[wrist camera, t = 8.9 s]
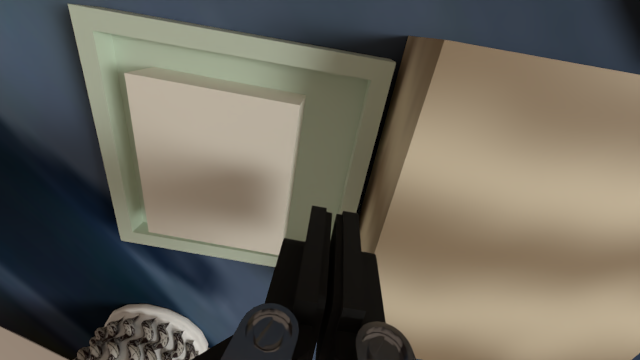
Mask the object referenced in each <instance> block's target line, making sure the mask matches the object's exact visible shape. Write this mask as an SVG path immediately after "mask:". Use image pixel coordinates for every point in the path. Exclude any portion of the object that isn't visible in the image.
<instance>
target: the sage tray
mask: <svg viewBox="0 0 640 360" xmlns="http://www.w3.org/2000/svg"><path fill="white" fill-rule="evenodd" d="M68 7H69V12H70V16H71V21H72V25H73V29H74V34H75V38H76V43H77V47H78V52H79V56H80V61H81V65H82V69H83V74H84V78H85V83H86V87H87V92H88V96H89V100H90V105H91V109H92V114H93V118H94V123H95V127H96V132H97V136H98V140H99V145H100V149H101V154H102V158H103V163H104V167H105V171H106V176H107V180H108V185H109V189H110V194H111V198H112V203H113V207H114V211H115V216H116V220H117V225H118V229H119V234H120V238H121V241H127V242H133V243H138V244H144V245H150V246H156V247H161V248H167V249H173V250H179V251H184V252H190V253H196V254H202V255H208V256H213V257H219V258H225V259H231V260H236V261H242V262H248V263H254V264H260V265H265V266H271V267H276V263H277V260H278V256H279V255H274V254H269V253H263V252H258V251H252V250H246V249H241V248H235V247H230V246H224V245H218V244H213V243H207V242H202V241H196V240H191V239H185V238H179V237H174V236H168V235H163V234H157V233H151V232H149V231H148V224H147V218H146V211H145V205H144V198H143V192H142V185H141V179H140V172H139V166H138V159H137V153H136V146H135V140H134V133H133V127H132V120H131V114H130V107H129V101H128V94H127V88H126V81H125V75H124V73H126V72H131V71H136V70H141V69H146V68H151V67H158V68H163V69H168V70H174V71H179V72H185V73H190V74H195V75H201V76H206V77H212V78H217V79H222V80H228V81H233V82H239V83H244V84H249V85H255V86H260V87H265V88H271V89H276V90H282V91H287V92H292V93H298V94H303V95H306V98H305V105H304V113H303V120H302V127H301V134H300V141H299V149H298V156H297V163H296V170H295V177H294V184H293V192H292V199H291V206H290V213H289V220H288V228H287V233H286V237H285V238H287V239H293V240H299V241H304V242H305V241H306V236H307V230H308V225H309V219H310V214H311V208H312V205H313V206H319V207H324V208H327V212H330V213H332V223H331V235H332V231H333V227H334V222H335V218H336V214H341V215H342V212H343V211H347V212H353V213H356V212H357V208H358V204H359V201H360V197H361V193H362V189H363V185H364V182H365V178H366V174H367V170H368V167H369V163H370V159H371V155H372V152H373V148H374V144H375V140H376V137H377V133H378V129H379V125H380V121H381V118H382V114H383V110H384V106H385V103H386V99H387V95H388V91H389V88H390V84H391V80H392V76H393V73H394V69H395V65H396V62H394V61H393V60H391V59H388V58H382V57H377V56H371V55H366V54H360V53H355V52H349V51H343V50H338V49H332V48H327V47H321V46H316V45H310V44H304V43H299V42H293V41H288V40H282V39H277V38H271V37H265V36H260V35H254V34H249V33H243V32H238V31H232V30H226V29H221V28H215V27H210V26H204V25H198V24H193V23H187V22H182V21H176V20H171V19H165V18H159V17H154V16H148V15H143V14H137V13H132V12H126V11H120V10H115V9H109V8H104V7H97V6H86V5H75V4H68ZM330 240H331V238H330Z"/></svg>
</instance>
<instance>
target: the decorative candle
mask: <svg viewBox="0 0 640 360" xmlns="http://www.w3.org/2000/svg"><path fill="white" fill-rule="evenodd" d="M89 344H90V346H88V347H83V348H81V349H80V350H79V351H78V352H77V357H76V358H74V359H73V360H191V359H193V358H195V357H196V356H198V355H200V354H202V353H203V352H205V351H207V349H208V342H207V340H206V338H205V336H204V334H203V332H202V331H201V330H200V329H199V328H198V327H197V326H196V325H195V324H194V323H192V322H191V321H190V320H189V319H188V318H186V317H184V316H182V315H180V314H178V313H176V312H174V311H172V310H170V309H167V308H163V307H159V306H154V305H150V304H128V305H125V306H123V307H121V308H119V309H116V310H114V311H113V312H112V314H111V315H110V317H109V318H108V320H107V322H106V323H105V327H100V328H97V329H96V331H95V336H94V337H92V338H91V339H90V341H89Z"/></svg>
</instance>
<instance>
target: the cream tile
mask: <svg viewBox="0 0 640 360" xmlns="http://www.w3.org/2000/svg"><path fill="white" fill-rule="evenodd" d="M124 75H125V81H126V88H127V94H128V101H129V107H130V114H131V120H132V127H133V133H134V140H135V146H136V153H137V159H138V166H139V172H140V179H141V185H142V192H143V198H144V205H145V211H146V218H147V224H148V231H149V232H151V233H157V234H163V235H168V236H174V237H179V238H185V239H191V240H196V241H202V242H207V243H213V244H218V245H224V246H230V247H235V248H241V249H246V250H252V251H258V252H263V253H269V254H274V255H279V253H280V249H281V246H282V242H283V239H284V238H285V237H286V233H287V228H288V220H289V213H290V206H291V199H292V192H293V184H294V177H295V170H296V163H297V156H298V149H299V141H300V134H301V127H302V120H303V113H304V105H305V98H306V95H303V94H298V93H292V92H287V91H282V90H276V89H271V88H265V87H260V86H255V85H249V84H244V83H239V82H233V81H228V80H222V79H217V78H212V77H206V76H201V75H195V74H190V73H185V72H179V71H174V70H168V69H163V68H158V67H151V68H146V69H141V70H136V71H131V72H126V73H124Z"/></svg>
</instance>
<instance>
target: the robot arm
mask: <svg viewBox="0 0 640 360" xmlns="http://www.w3.org/2000/svg"><path fill="white" fill-rule="evenodd" d="M331 223H332V213H330V212H327V208H324V207H319V206H313V205H312V208H311V214H310V219H309V225H308V230H307V236H306V241H305V242H304V241H299V240H293V239H287V238H284V239H283V242H282V246H281V249H280V253H279V256H278V260H277V263H276V267H275V270H274V273H273V277H272V280H271V284H270V287H269V291H268V294H267V298H266V301H265V304H261V305H259V306H256V307H254V308H253V309H251V310H250V311H249V312H247V313H246V315H245V316H244V317H243V319H242V320H241V322H240V324H239V326H238V328H237V330H236V332H235V333H234V335H232V336H231V337H229V338H227V339H226V340H224V341H222V342H220V343H219V344H217V345H215V346H214V347H212V348H210V349H208V350H207V351H205V352H203V353H202V354H200V355H198V356H196V357H195V358H193V359H191V360H312V358H313V354H314V350H315V346H316V342H317V348H316V360H416V357H415V355H414V352H413V349H412V347H411V345H410V343H409V341H408V340H407V338H406V337H405V336H404V335H403V334H402V332H400V331H399V330H398V329H396V328H395V327H394V326H392V325H389V324H387V323H386V322H385V315H384V307H383V300H382V293H381V286H380V279H379V272H378V265H377V258H376V255H375V254H373V253H368V252H362V251H361V239H360V226H359V214H358V213H353V212H347V211H343V212H342V215H341V214H336V218H335V222H334V227H333V231H332V235H331ZM330 238H331V240H330Z"/></svg>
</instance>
